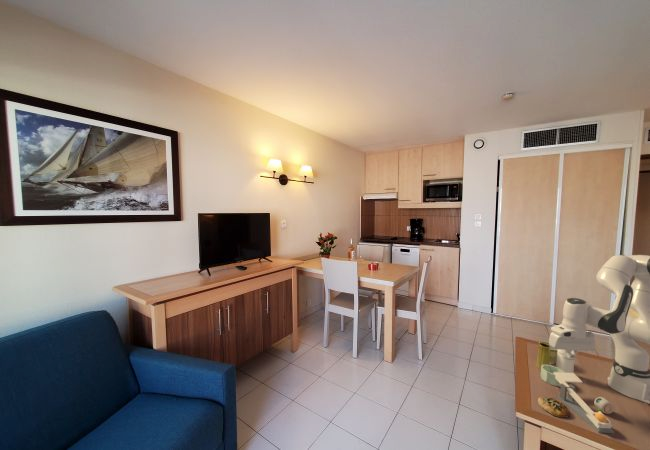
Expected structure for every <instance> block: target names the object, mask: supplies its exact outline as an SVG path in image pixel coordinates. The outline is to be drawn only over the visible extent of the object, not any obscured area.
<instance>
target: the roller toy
mask: <svg viewBox="0 0 650 450" xmlns="http://www.w3.org/2000/svg"><path fill="white" fill-rule="evenodd" d="M593 404H594V406H595V408H596V409H597V410H598V411H597V412H599V411H601V412H602V414H604V415H605V414H606V415H611V414H612V413H614V412H615V411H614V410H615V406H614V404H613V403H612V402H610V401H609V400H608V399H606V398H605V397H603V396H598V397H596V398H595V399H594V401H593Z"/></svg>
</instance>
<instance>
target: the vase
mask: <svg viewBox="0 0 650 450" xmlns="http://www.w3.org/2000/svg"><path fill="white" fill-rule="evenodd" d="M537 348H538V349H537V357H536V364H535V367H536V368H537V369H538V370H540V371H541V366H542V365H551V364H550V346H549V345H547V344H545V343H539V342H538V347H537Z"/></svg>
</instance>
